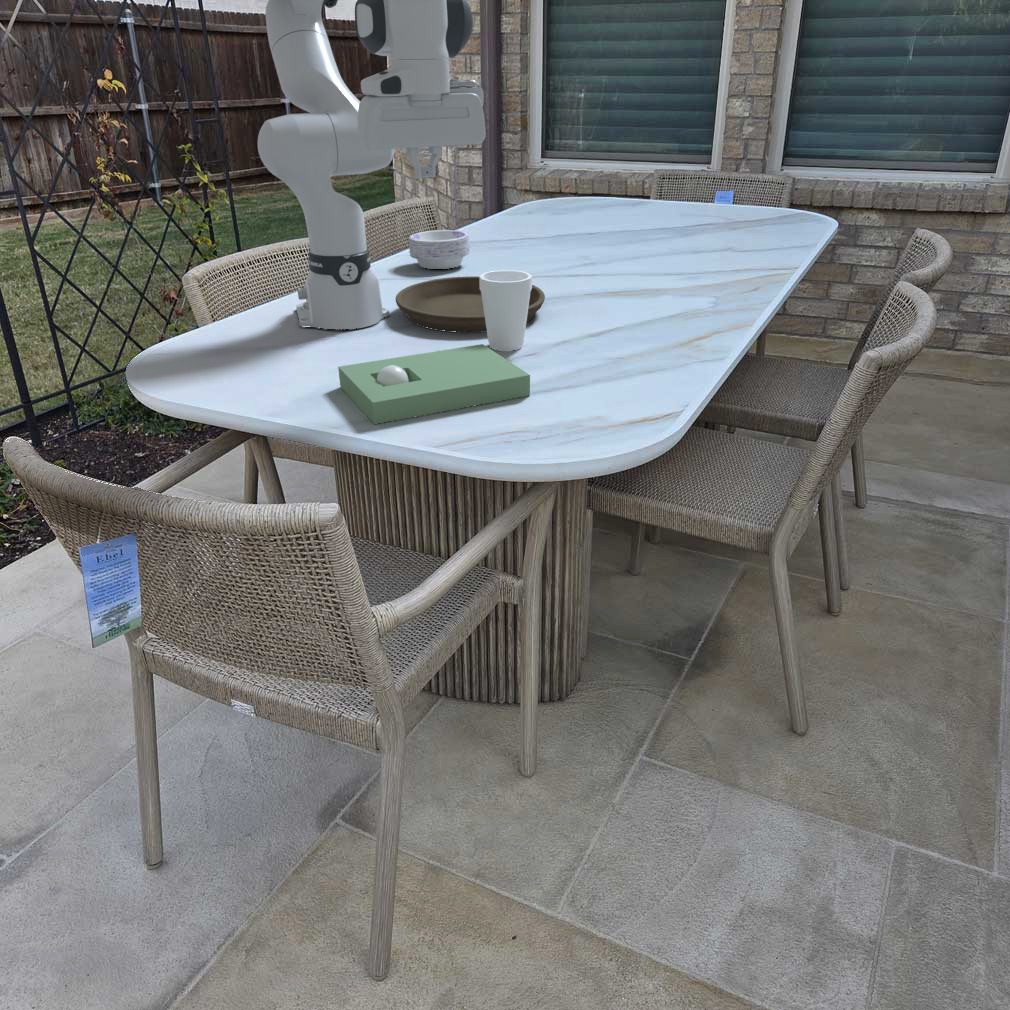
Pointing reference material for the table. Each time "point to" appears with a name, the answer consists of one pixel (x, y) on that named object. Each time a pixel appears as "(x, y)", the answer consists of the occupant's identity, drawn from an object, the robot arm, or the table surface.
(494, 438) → the table surface
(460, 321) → the plant saucer
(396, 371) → the ball
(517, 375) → the green
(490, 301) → the foam cup
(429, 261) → the paper bowls
